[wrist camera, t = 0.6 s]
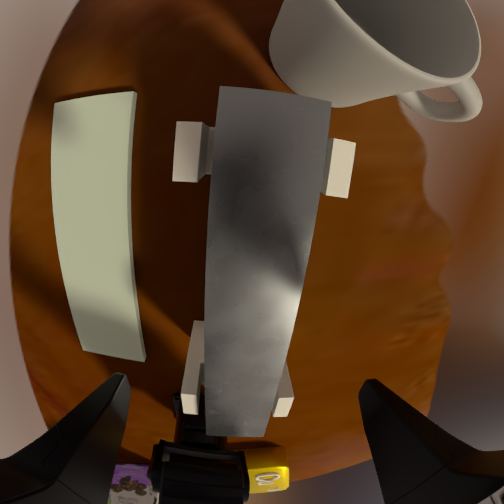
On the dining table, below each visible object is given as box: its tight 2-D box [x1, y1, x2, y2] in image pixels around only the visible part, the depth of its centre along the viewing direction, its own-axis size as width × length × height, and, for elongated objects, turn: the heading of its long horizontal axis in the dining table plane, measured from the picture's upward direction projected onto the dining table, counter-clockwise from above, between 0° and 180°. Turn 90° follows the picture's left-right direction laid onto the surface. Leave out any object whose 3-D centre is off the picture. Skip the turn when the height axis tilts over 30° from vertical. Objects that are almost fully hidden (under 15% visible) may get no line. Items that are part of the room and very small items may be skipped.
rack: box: [172, 121, 356, 417], centre depth 17 cm, size 18×7×8 cm, turn 174°
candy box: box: [108, 463, 159, 504], centre depth 29 cm, size 14×6×16 cm, turn 112°
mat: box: [51, 91, 146, 362], centre depth 19 cm, size 23×7×1 cm, turn 174°
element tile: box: [229, 446, 289, 494], centre depth 33 cm, size 15×15×5 cm
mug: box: [269, 0, 482, 122], centre depth 10 cm, size 12×8×11 cm
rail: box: [204, 86, 332, 437], centre depth 14 cm, size 20×4×4 cm, turn 174°
